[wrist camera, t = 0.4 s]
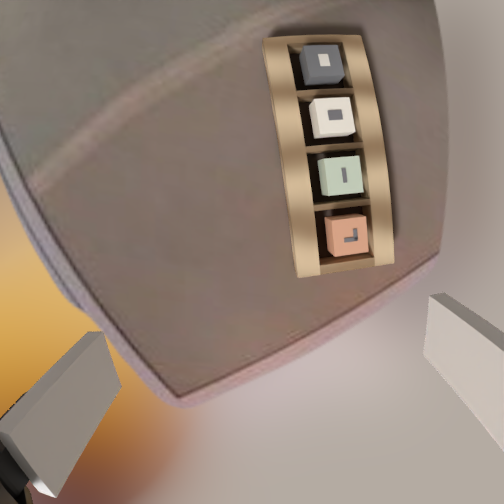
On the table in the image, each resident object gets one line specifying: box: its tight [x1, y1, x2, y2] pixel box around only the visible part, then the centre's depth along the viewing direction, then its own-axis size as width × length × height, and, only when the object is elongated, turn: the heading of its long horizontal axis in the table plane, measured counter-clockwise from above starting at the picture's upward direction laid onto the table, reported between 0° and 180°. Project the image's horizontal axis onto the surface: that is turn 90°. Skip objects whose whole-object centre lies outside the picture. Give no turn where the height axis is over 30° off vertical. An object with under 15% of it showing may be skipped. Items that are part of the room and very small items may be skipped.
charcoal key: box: [299, 45, 345, 86], centre depth 28 cm, size 4×4×3 cm
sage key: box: [318, 156, 364, 196], centre depth 30 cm, size 4×4×3 cm
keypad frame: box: [262, 35, 394, 278], centre depth 31 cm, size 26×11×3 cm, turn 8°
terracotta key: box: [325, 213, 368, 257], centre depth 31 cm, size 4×4×3 cm
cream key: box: [309, 97, 355, 139], centre depth 29 cm, size 4×4×3 cm
